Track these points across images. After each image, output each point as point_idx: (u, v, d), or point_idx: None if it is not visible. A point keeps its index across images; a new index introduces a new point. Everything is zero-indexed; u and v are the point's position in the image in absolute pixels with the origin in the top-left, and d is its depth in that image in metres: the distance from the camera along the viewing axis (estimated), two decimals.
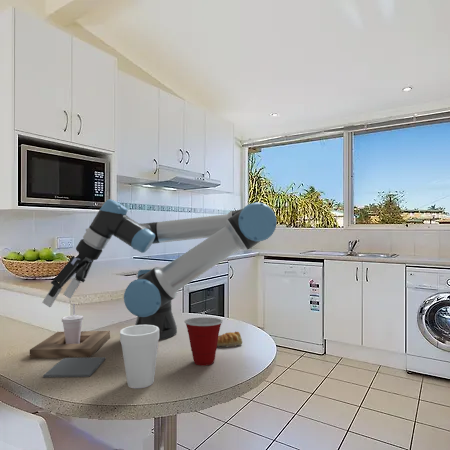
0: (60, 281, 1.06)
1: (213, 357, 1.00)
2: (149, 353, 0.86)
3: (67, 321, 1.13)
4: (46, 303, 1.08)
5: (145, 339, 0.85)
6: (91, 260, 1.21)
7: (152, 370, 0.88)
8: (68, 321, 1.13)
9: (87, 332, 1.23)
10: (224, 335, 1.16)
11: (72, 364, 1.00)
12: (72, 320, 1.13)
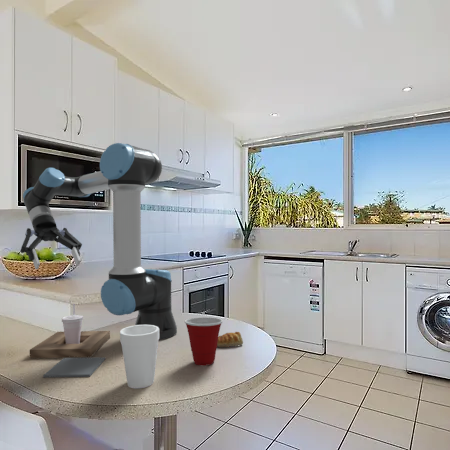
0: None
1: (213, 357, 1.00)
2: (149, 353, 0.86)
3: (67, 321, 1.13)
4: (36, 265, 1.18)
5: (145, 339, 0.85)
6: (64, 231, 1.34)
7: (152, 370, 0.88)
8: (68, 321, 1.13)
9: (87, 332, 1.23)
10: (225, 335, 1.16)
11: (72, 364, 1.00)
12: (72, 320, 1.13)
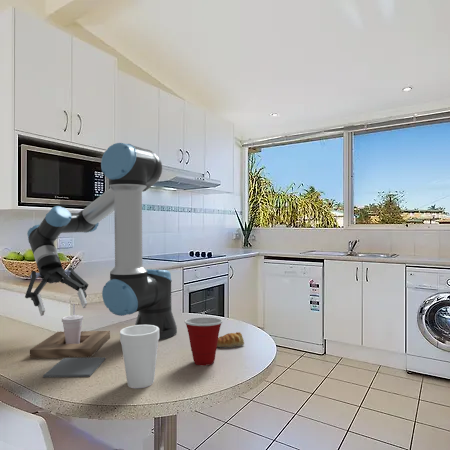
0: (27, 290, 1.16)
1: (213, 357, 1.00)
2: (149, 353, 0.86)
3: (67, 321, 1.13)
4: (41, 312, 1.14)
5: (145, 339, 0.85)
6: (69, 271, 1.30)
7: (152, 370, 0.88)
8: (68, 321, 1.13)
9: (87, 332, 1.23)
10: (226, 336, 1.15)
11: (72, 364, 1.00)
12: (72, 320, 1.13)
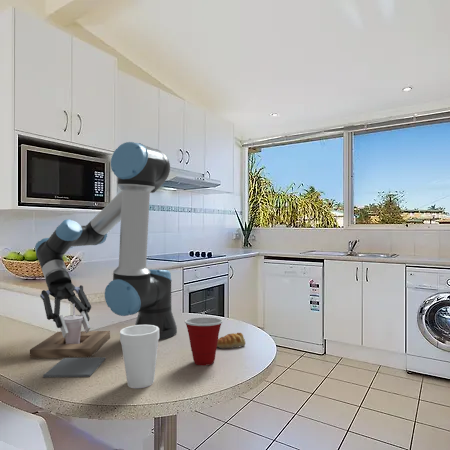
0: (47, 311, 1.13)
1: (213, 357, 1.00)
2: (149, 353, 0.86)
3: (67, 321, 1.13)
4: (64, 334, 1.11)
5: (145, 339, 0.85)
6: None
7: (152, 370, 0.88)
8: (68, 321, 1.13)
9: None
10: (227, 336, 1.15)
11: (72, 364, 1.00)
12: (72, 320, 1.13)
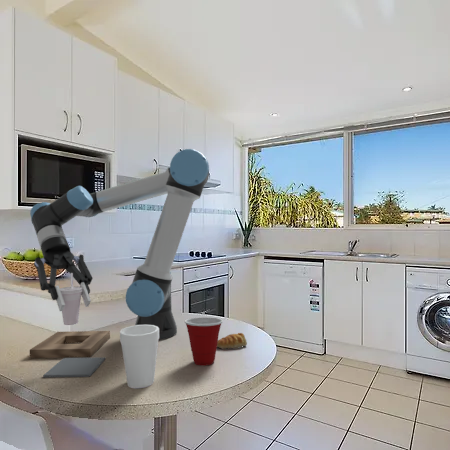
0: (41, 281, 0.98)
1: (213, 357, 1.00)
2: (149, 353, 0.86)
3: (64, 292, 0.98)
4: (60, 307, 0.96)
5: (145, 339, 0.85)
6: None
7: (152, 370, 0.88)
8: (65, 292, 0.98)
9: (87, 332, 1.23)
10: (228, 337, 1.14)
11: (72, 364, 1.00)
12: (69, 291, 0.98)
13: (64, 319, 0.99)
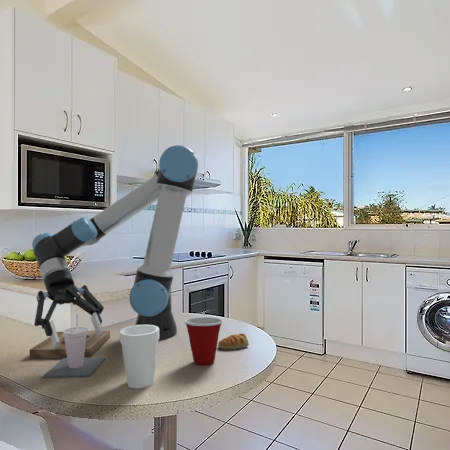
0: (36, 316, 0.95)
1: (213, 357, 1.00)
2: (149, 353, 0.86)
3: (69, 335, 0.96)
4: (54, 344, 0.93)
5: (145, 339, 0.85)
6: (83, 289, 1.08)
7: (152, 370, 0.88)
8: (70, 335, 0.96)
9: None
10: (230, 337, 1.13)
11: None
12: (75, 334, 0.96)
13: (69, 362, 0.97)
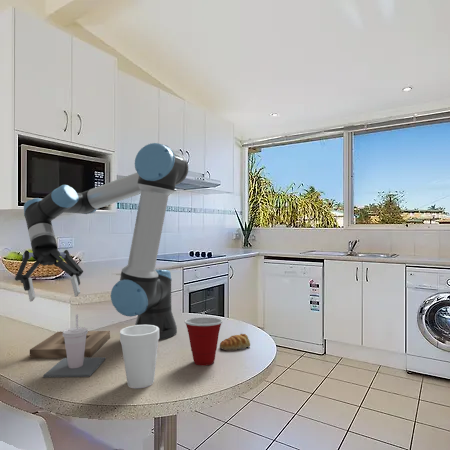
0: (18, 271, 1.09)
1: (213, 357, 1.00)
2: (149, 353, 0.86)
3: (69, 335, 0.96)
4: (30, 298, 1.07)
5: (145, 339, 0.85)
6: (65, 253, 1.22)
7: (152, 370, 0.88)
8: (70, 335, 0.96)
9: None
10: (232, 338, 1.13)
11: None
12: (75, 334, 0.96)
13: (69, 362, 0.97)
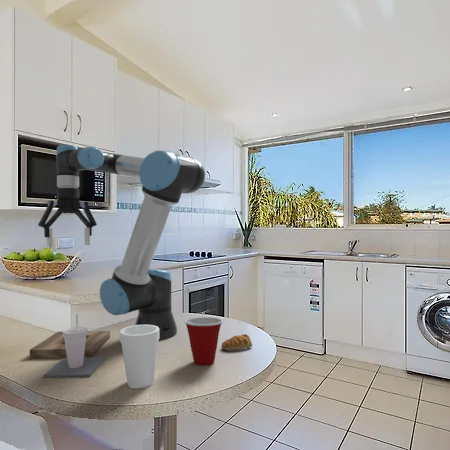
0: (41, 221, 1.26)
1: (213, 357, 1.00)
2: (149, 353, 0.86)
3: (69, 335, 0.96)
4: (48, 245, 1.28)
5: (145, 339, 0.85)
6: (84, 205, 1.36)
7: (152, 370, 0.88)
8: (70, 335, 0.96)
9: None
10: (234, 339, 1.12)
11: None
12: (75, 334, 0.96)
13: (69, 362, 0.97)
